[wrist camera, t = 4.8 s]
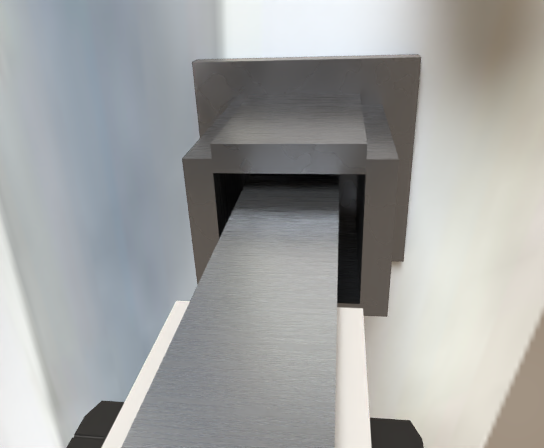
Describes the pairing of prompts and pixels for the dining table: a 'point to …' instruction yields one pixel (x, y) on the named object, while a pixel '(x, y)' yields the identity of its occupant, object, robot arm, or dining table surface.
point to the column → (256, 329)
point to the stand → (310, 152)
